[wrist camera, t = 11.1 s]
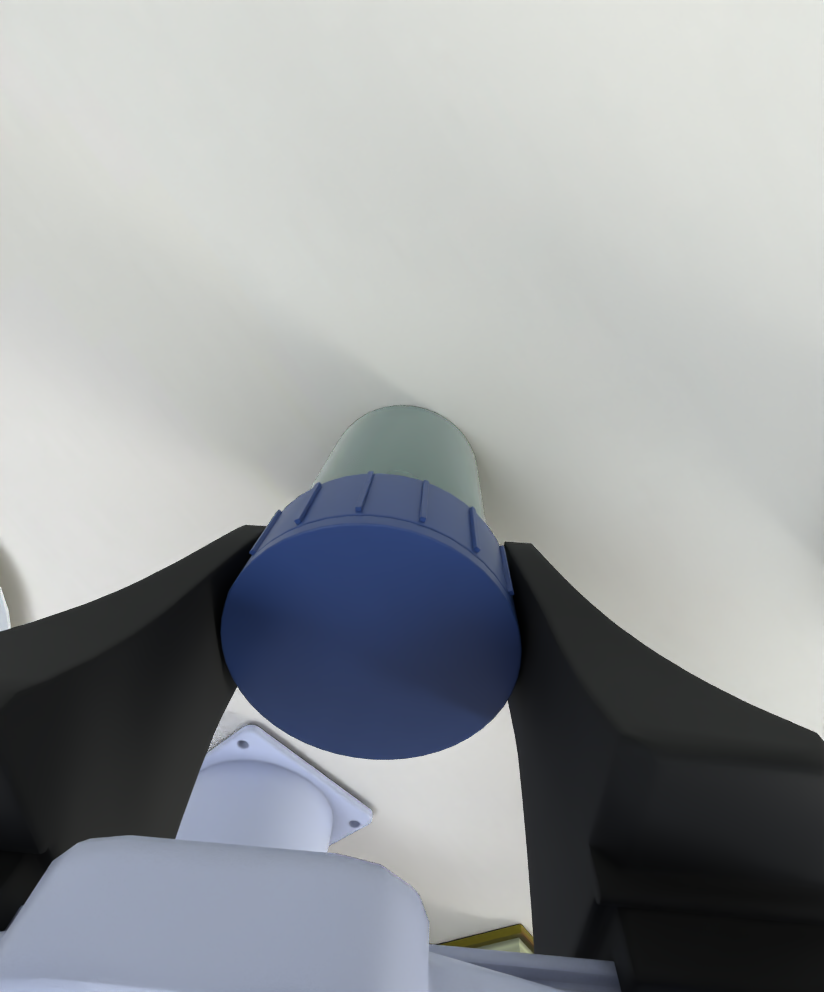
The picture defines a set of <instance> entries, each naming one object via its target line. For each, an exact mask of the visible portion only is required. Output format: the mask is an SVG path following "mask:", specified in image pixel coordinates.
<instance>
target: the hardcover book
mask: <svg viewBox="0 0 824 992" xmlns="http://www.w3.org/2000/svg"><path fill="white" fill-rule="evenodd" d="M440 945H445V946H456V947H466V948H477V949H488V950H498V951H509V952H519V953H530V954H534V941H533V937H532V936H531V935H530V934H529V933H528V931H527V930H526V929H525V928H524V927H523V926H522V925H521V924H519V925H515V926H511V927H507V928H503V929H499V930H495V931H491V932H487V933H483V934H479V935H475V936H471V937H467V938H464V939H460V940H456V941H452V942H448V943H444V944H440Z"/></svg>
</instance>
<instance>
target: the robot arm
mask: <svg viewBox="0 0 824 992" xmlns="http://www.w3.org/2000/svg"><path fill="white" fill-rule="evenodd" d="M266 527H267V526H254V525H244V526H242V527H239V528H237V529H235V530H233V531H231V532H230V533H228V534H226V535H224V536H222V537H221V538H219V539H217V540H215V541H213V542H212V543H210V544H208V545H206V546H205V547H203V548H201V549H199V550H198V551H196V552H194V553H192V554H190V555H189V556H187V557H185V558H183V559H181V560H180V561H178V562H176V563H174V564H172V565H170V566H168V567H166V568H164V569H162V570H160V571H158V572H156V573H154V574H152V575H150V576H148V577H146V578H144V579H143V580H141V581H138V582H136V583H134V584H132V585H130V586H128V587H125V588H123V589H121V590H119V591H116V592H114V593H111V594H109V595H106V596H104V597H102V598H99V599H97V600H94V601H92V602H89V603H87V604H84V605H81V606H78V607H75V608H72V609H69V610H67V611H64V612H61V613H58V614H55V615H52V616H49V617H46V618H43V619H40V620H37V621H34V622H31V623H28V624H24V625H21V626H17V627H14V628H10V629H7V630H4V631H0V992H824V741H823V740H822V739H821V737H820V736H819V735H818V734H817V733H815V732H813V731H811V730H808V729H806V728H804V727H801V726H799V725H797V724H795V723H792V722H790V721H788V720H785V719H783V718H781V717H778V716H776V715H774V714H771V713H769V712H767V711H765V710H762V709H760V708H758V707H755V706H753V705H751V704H749V703H747V702H745V701H742V700H740V699H738V698H736V697H735V696H733V695H731V694H729V693H727V692H725V691H723V690H721V689H719V688H717V687H715V686H713V685H711V684H709V683H707V682H705V681H703V680H702V679H700V678H698V677H696V676H694V675H693V674H691V673H689V672H687V671H685V670H684V669H682V668H681V667H679V666H677V665H676V664H674V663H672V662H671V661H669V660H667V659H666V658H664V657H662V656H661V655H659V654H658V653H656V652H654V651H653V650H651V649H650V648H648V647H647V646H645V645H644V644H642V643H641V642H640V641H638V640H637V639H635V638H634V637H633V636H631V635H630V634H629V633H627V632H626V631H624V630H623V629H622V628H620V627H619V626H618V625H616V624H615V623H614V622H613V621H611V620H610V619H609V618H608V617H606V616H605V615H604V614H603V613H602V612H600V611H599V610H598V609H597V608H596V607H595V606H593V605H592V604H591V603H590V602H589V601H588V600H587V599H585V598H584V597H583V596H582V595H581V594H580V593H579V592H578V591H577V590H576V589H575V588H574V587H573V586H572V585H571V584H570V583H569V582H568V581H567V580H566V579H565V578H564V577H563V576H562V575H561V574H560V573H559V572H558V571H557V570H556V569H555V568H554V567H553V566H552V565H551V564H550V563H549V562H548V561H547V560H546V559H545V558H544V556H543V555H542V554H541V553H540V552H539V551H538V550H537V549H536V548H535V547H534V546H533V545H532V544H530V543H515V542H505V544H504V548H505V552H506V557H507V562H508V566H509V571H510V576H511V581H512V586H513V590H514V595H513V600H514V605H515V610H516V614H517V619H518V624H519V629H520V636H521V644H522V657H521V666H520V671H519V675H518V679H517V682H516V684H515V687H514V689H513V691H512V694H511V695H510V697H509V699H508V704H509V709H510V714H511V719H512V724H513V729H514V733H515V739H516V745H517V752H518V759H519V769H520V779H521V789H522V799H523V810H524V822H525V833H526V844H527V856H528V870H529V883H530V896H531V909H532V925H533V941H534V954H530V953H519V952H509V951H498V950H488V949H477V948H466V947H456V946H445V945H435V944H429V920H428V917H427V914H426V911H425V909H424V906H423V903H422V901H421V898H420V895H419V894H418V893H417V891H416V890H415V889H414V888H413V887H412V886H411V885H410V884H408V883H407V882H405V881H404V880H402V879H401V878H400V877H398V876H397V875H395V874H394V873H392V872H391V871H390V870H388V869H387V868H385V867H384V866H382V865H381V864H377V863H373V862H369V861H365V860H361V859H357V858H353V857H349V856H345V855H341V854H337V853H327V852H328V847H329V846H330V845H332V844H333V843H335V842H337V841H339V840H341V839H343V838H344V837H346V836H348V835H350V834H352V833H354V832H355V831H357V830H359V829H361V828H363V827H365V826H367V825H368V824H370V823H371V821H372V815H373V813H372V810H371V809H370V808H368V807H367V806H366V805H364V804H363V803H362V802H360V801H359V800H358V799H356V798H355V797H353V796H352V795H351V794H349V793H348V792H347V791H345V790H344V789H343V788H341V787H340V786H338V785H337V784H336V783H334V782H333V781H332V780H330V779H329V778H328V777H326V776H325V775H323V774H322V773H321V772H319V771H318V770H317V769H315V768H314V767H313V766H311V765H310V764H309V763H307V762H306V761H304V760H303V759H302V758H300V757H299V756H298V755H296V754H295V753H294V752H292V751H291V750H289V749H288V748H287V747H285V746H284V745H283V744H281V743H280V742H279V741H277V740H276V739H274V738H273V737H272V736H270V735H269V734H268V733H266V732H265V731H264V730H262V729H261V728H259V727H258V726H256V725H246V726H244V727H243V728H241V729H240V730H238V731H237V732H236V733H234V734H233V735H231V736H230V737H229V738H227V739H226V740H224V741H223V742H222V743H220V744H219V745H217V746H216V747H215V748H213V749H212V750H210V751H209V752H208V753H207V751H208V748H209V746H210V743H211V740H212V738H213V735H214V733H215V730H216V728H217V726H218V724H219V722H220V720H221V717H222V715H223V713H224V711H225V709H226V707H227V705H228V703H229V701H230V699H231V698H232V696H233V694H234V692H235V690H236V688H237V685H236V683H235V682H234V680H233V678H232V676H231V674H230V672H229V669H228V667H227V665H226V662H225V658H224V654H223V651H222V644H221V635H220V630H221V616H222V612H223V608H224V603H225V600H226V598H227V594H228V591H229V590H230V588H231V587H232V585H233V583H234V582H235V580H236V579H237V577H238V576H239V574H240V573H241V571H242V570H243V568H244V567H245V565H246V564H247V562H248V561H249V559H250V557H251V556H252V555H251V554H250V553H249V552H250V551H251V549H252V548H253V546H254V545H255V543H256V542H257V540H258V539H259V537H260V536H261V534H262V533H263V531H264V530H265V528H266Z"/></svg>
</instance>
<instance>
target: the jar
mask: <svg viewBox="0 0 824 992" xmlns="http://www.w3.org/2000/svg"><path fill="white" fill-rule="evenodd" d="M368 471H373V472H374V474H377V473H382V474H392V475H400V476H405V477H409V478H414V479H418V480H421V481H424V480H427V481H429V484H432V485H435V486H437V487H439V488H441V489H443V490H445V491H447V492H449V493H450V494H452V495H453V496H455V497H456V498H458V499H459V500H461V501H462V502H464V503H465V504H466V505H468V506H469V507H470V508H471V507H472V506H473V507H474V508H475V509H476V513H477V514H478V515H479V517H480V518H481V519H482V520H483V521H484V522H485V523H486V521H485V514H484V508H483V501H482V495H481V488H480V482H479V476H478V469H477V463H476V459H475V456H474V453H473V450H472V448H471V446H470V444H469V443H468V441H467V439H466V438H465V436H464V435H463V434H462V433H461V431H460V430H459V429H458V428H457V427H456V426H455V425H453V424H452V423H451V422H450V421H448V420H447V419H445V418H444V417H442V416H440V415H439V414H437V413H435V412H432V411H430V410H427V409H424V408H419V407H415V406H405V405H404V406H390V407H384V408H381V409H377V410H374V411H372V412H370V413H368V414H366V415H364V416H362V417H361V418H359V419H358V420H356V421H355V422H354V423H353V424H352V425H350V427H349V428H348V429H347V430H346V431H345V432H344V433H343V435H342V436H341V438H340V439H339V441H338V443H337V444H336V446H335V448H334V449H333V451H332V453H331V454H330V456H329V458H328V459H327V461H326V463H325V464H324V466H323V468H322V469H321V471H320V473H319V475H318V476H317V478H316V480H315V481H314V483H313V485H312V486H311V488H310V489H312V488H313V487H314V485H315V484H316V483H318V482H320V483H321V484H323V483H325V482H328V481H331V480H334V479H338V478H341V477H345V476H352V475H358V474H367V473H368Z"/></svg>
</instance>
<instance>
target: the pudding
mask: <svg viewBox="0 0 824 992" xmlns="http://www.w3.org/2000/svg"><path fill="white" fill-rule="evenodd" d="M10 628H11V625H10V617H9V610H8V607H7V604H6V601H5V598H4V595H3V592H2V589H1V587H0V631H4V630H7V629H10Z"/></svg>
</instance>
